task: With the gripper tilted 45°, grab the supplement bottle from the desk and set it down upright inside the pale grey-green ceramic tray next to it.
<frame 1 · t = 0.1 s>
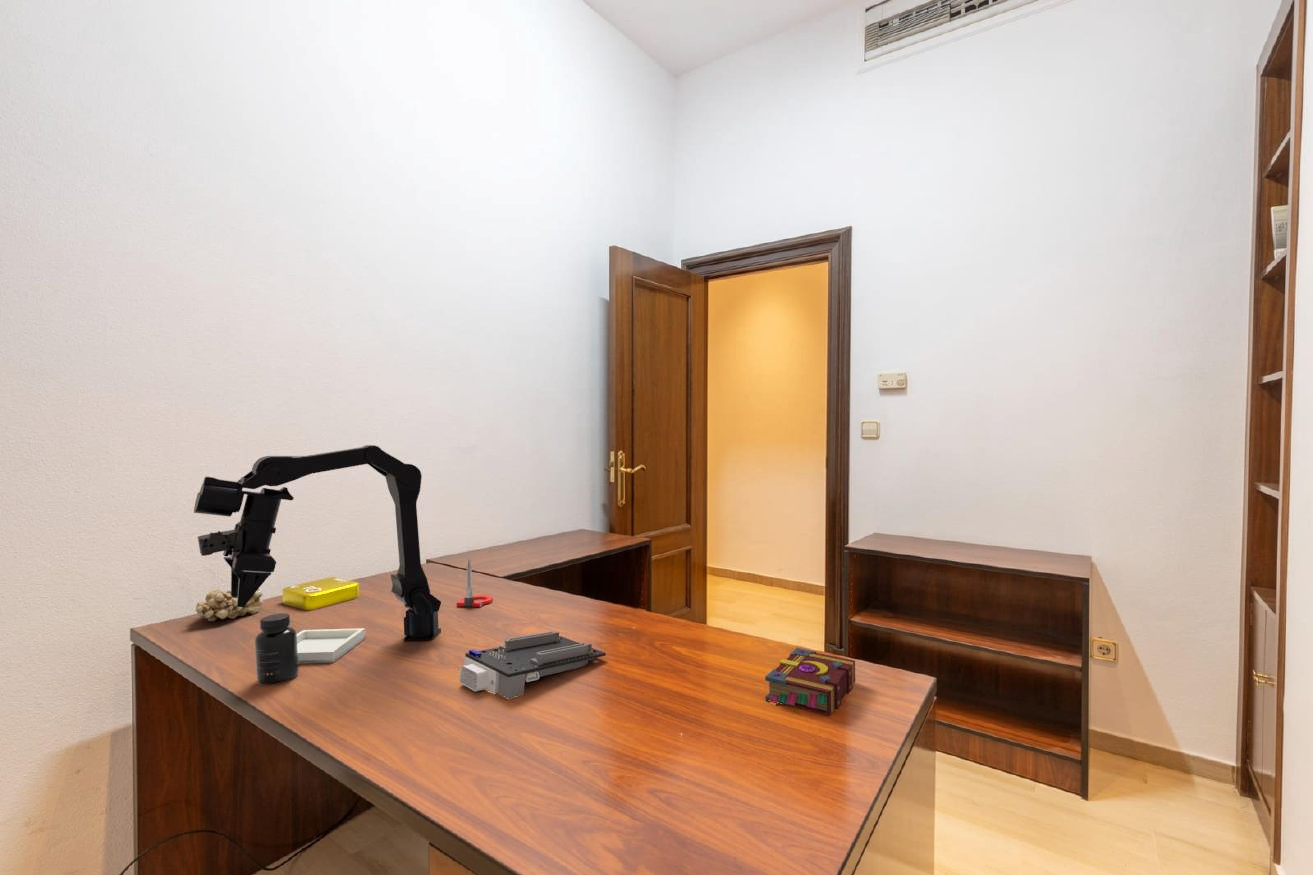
hand: (237, 601, 114), 15 cm above the table, tool pointing down, fingers open, 9 cm apart
supplement bottle: (278, 679, 115), on the table
mineral formation: (223, 619, 153), on the table
decorative book: (811, 695, 104), on the table
circuit board: (532, 674, 116), on the table
ceramic tray: (317, 650, 129), on the table
tow hook: (475, 603, 162), on the table
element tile: (321, 601, 168), on the table
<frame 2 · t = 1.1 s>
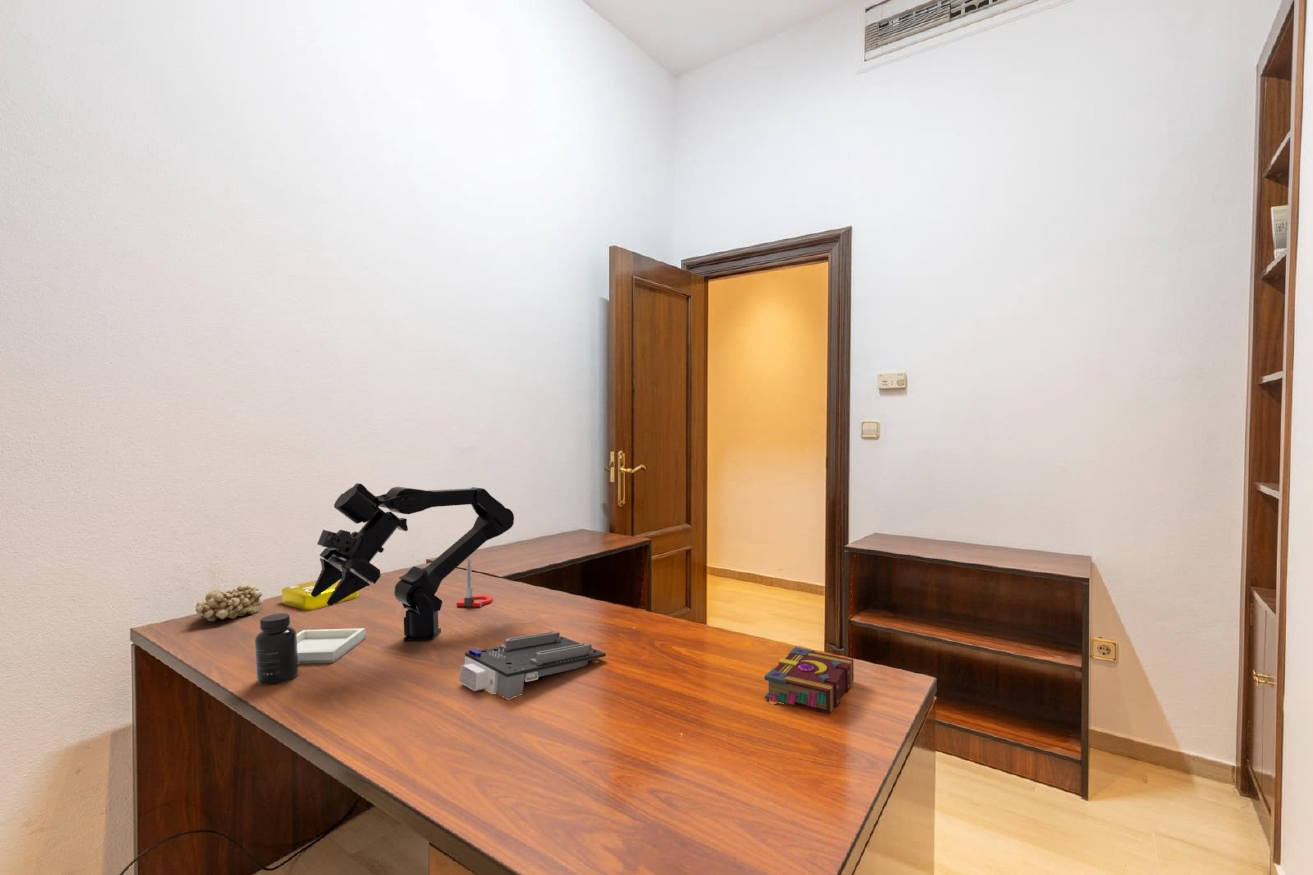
hand: (320, 600, 121), 13 cm above the table, tool tilted 45°, fingers open, 9 cm apart
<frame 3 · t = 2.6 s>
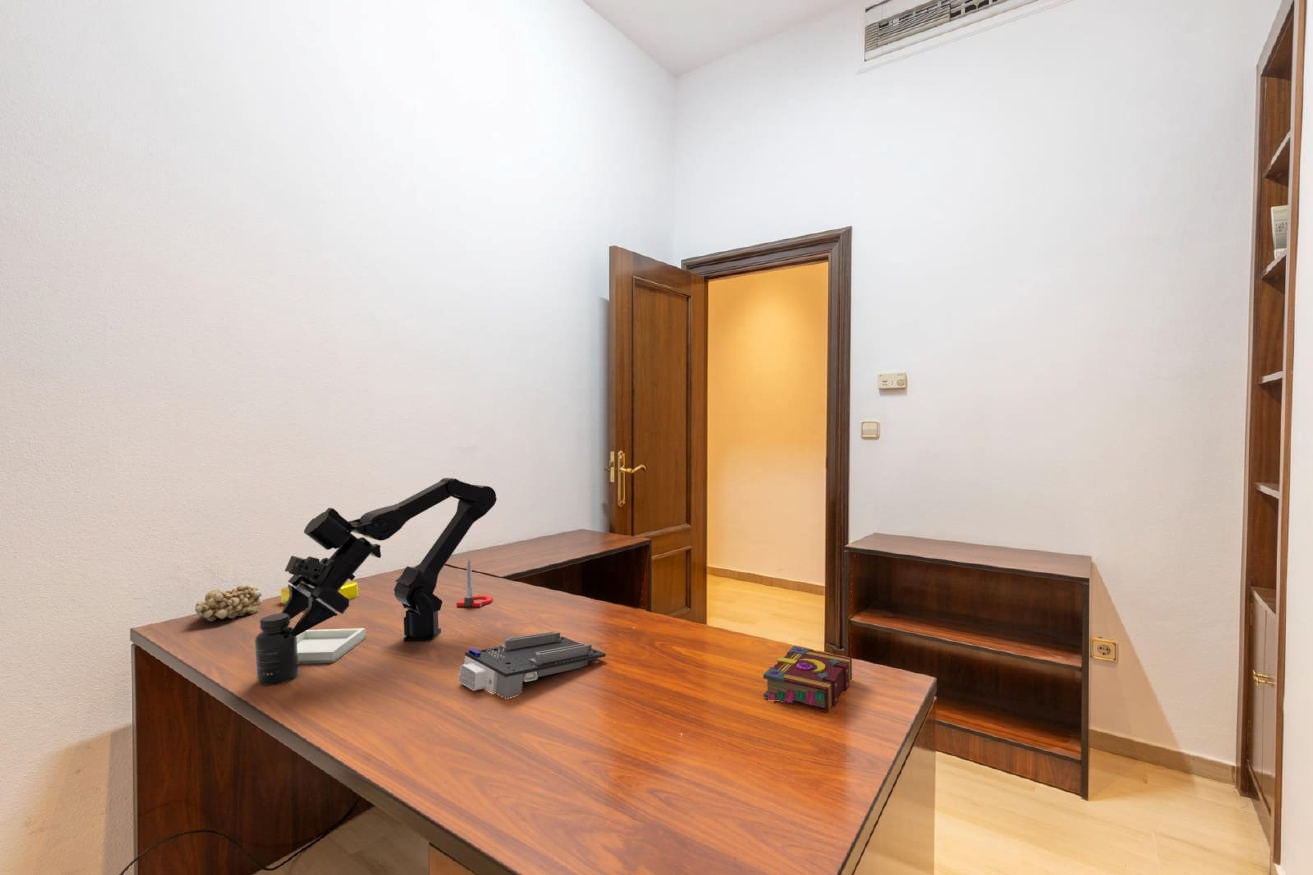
hand: (285, 629, 116), 9 cm above the table, tool tilted 45°, fingers open, 9 cm apart
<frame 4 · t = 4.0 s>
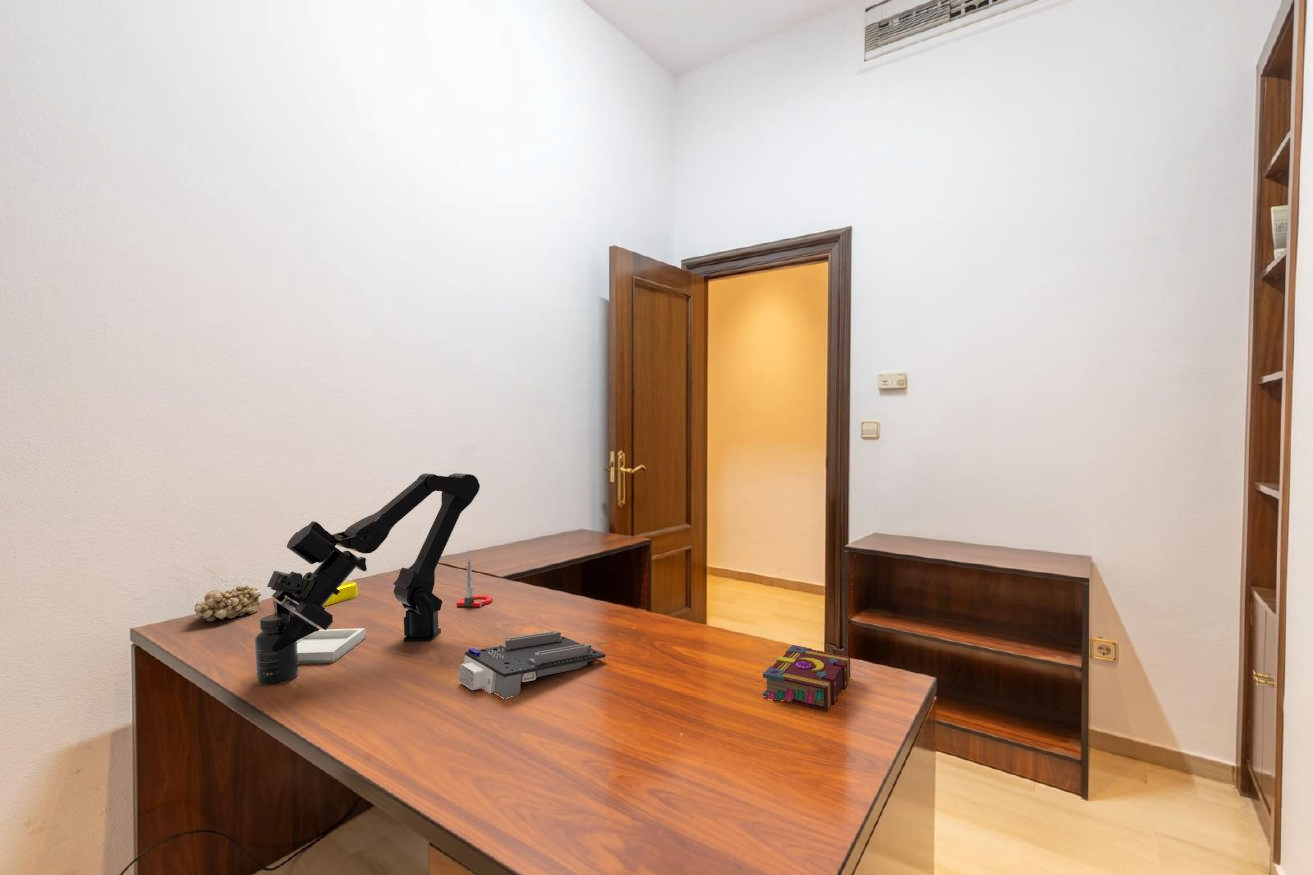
hand: (268, 646, 114), 7 cm above the table, tool tilted 45°, fingers closed on supplement bottle, 7 cm apart
supplement bottle: (278, 679, 115), on the table, touching gripper
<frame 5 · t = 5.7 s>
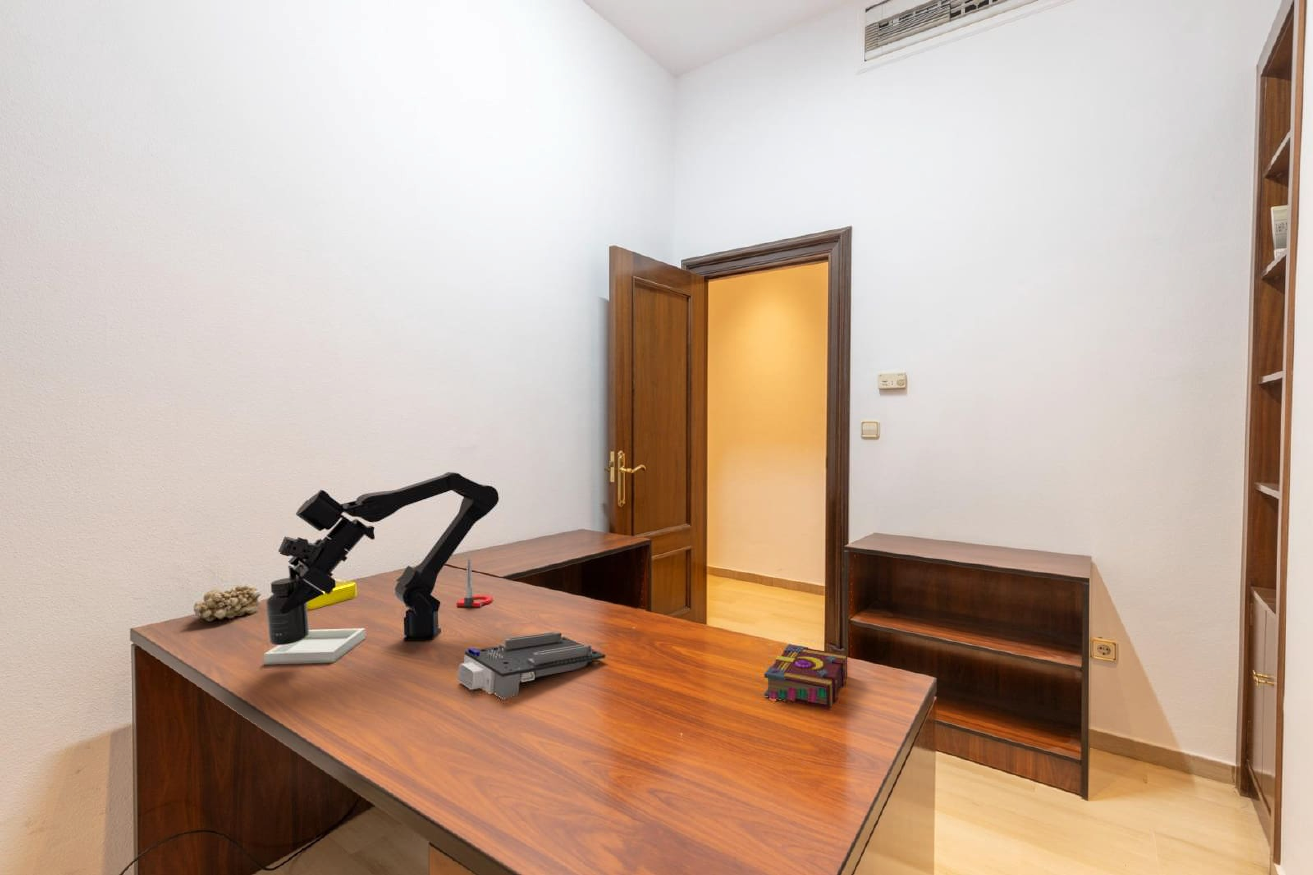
hand: (279, 608, 119), 12 cm above the table, tool tilted 45°, fingers closed on supplement bottle, 7 cm apart
supplement bottle: (289, 640, 120), point 6 cm above the table, touching gripper
when the fingers open (8 cm above the table, at t = 7.8 s): supplement bottle drops 1 cm, resting on ceramic tray.
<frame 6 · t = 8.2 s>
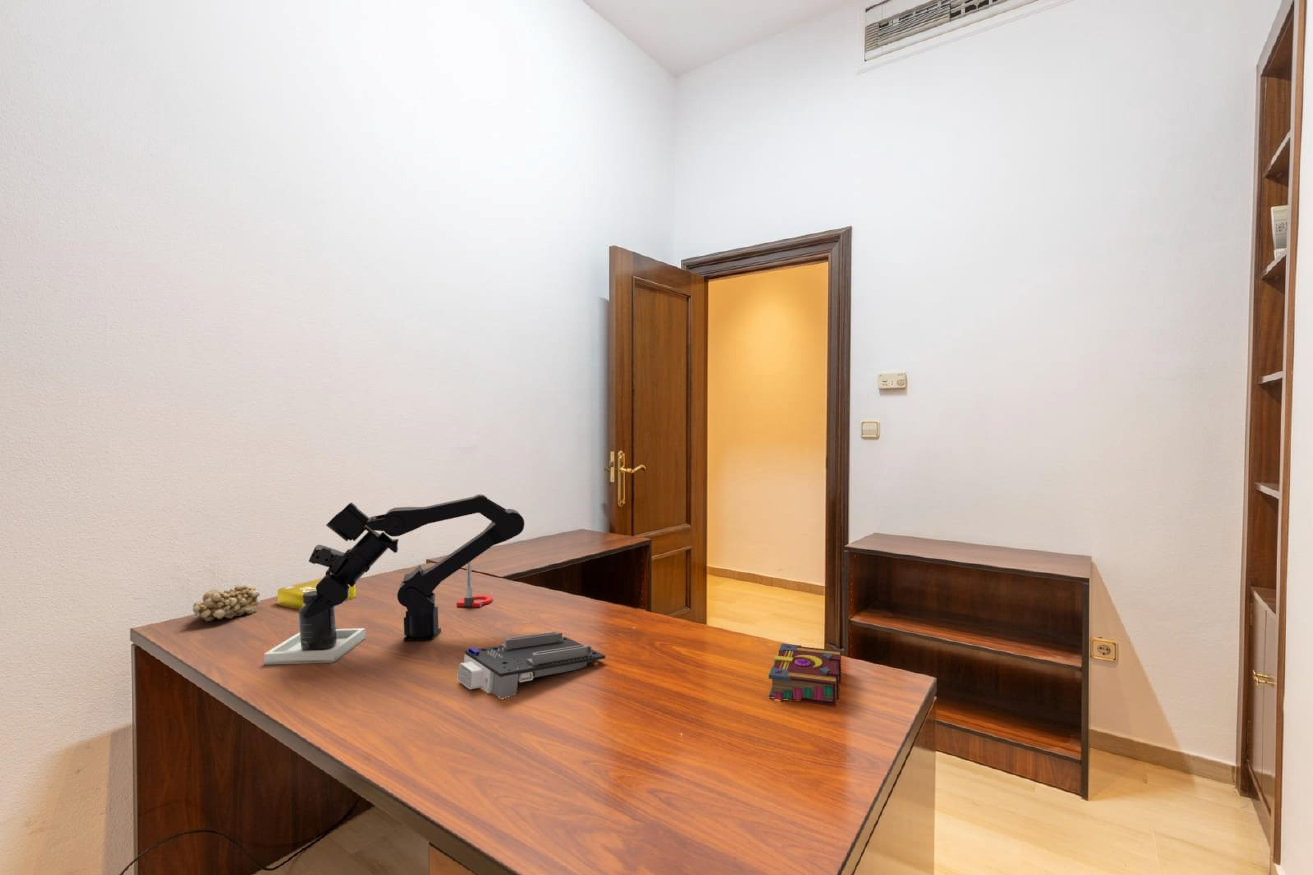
hand: (308, 611, 129), 9 cm above the table, tool tilted 45°, fingers open, 9 cm apart
supplement bottle: (318, 648, 130), resting on ceramic tray
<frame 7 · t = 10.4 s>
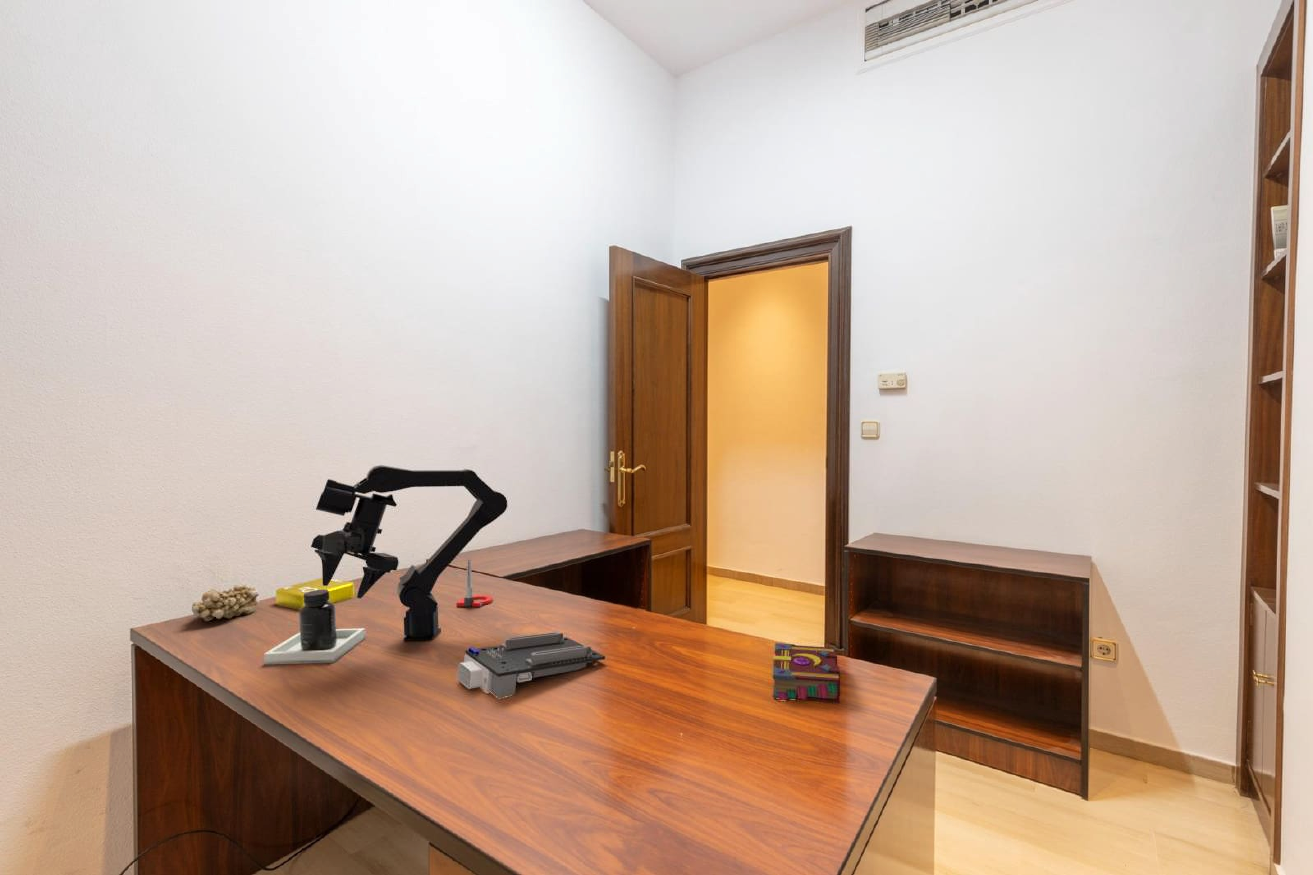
hand: (341, 591, 129), 13 cm above the table, tool tilted 20°, fingers open, 9 cm apart
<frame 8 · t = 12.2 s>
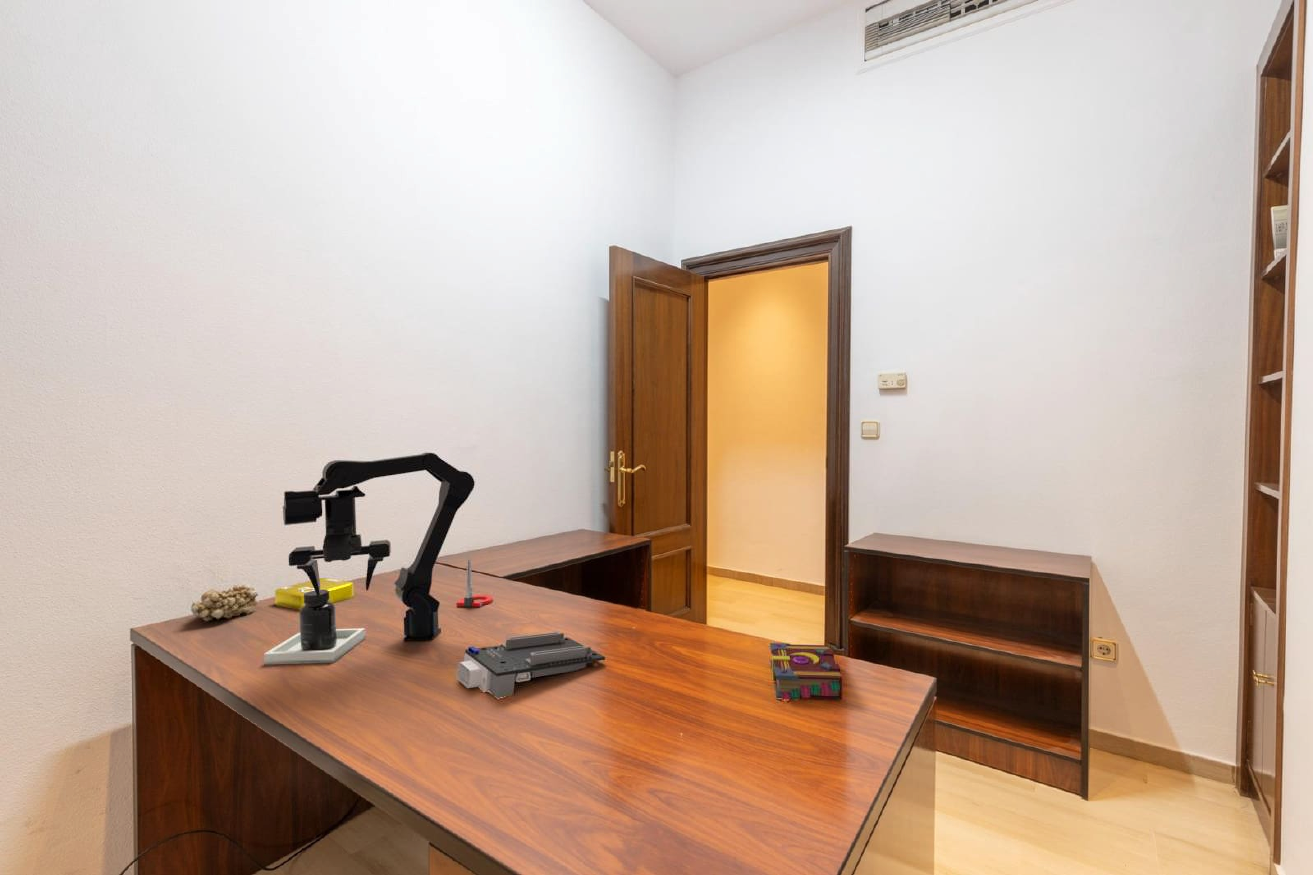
hand: (343, 592, 127), 13 cm above the table, tool pointing down, fingers open, 9 cm apart
at the end: supplement bottle inside the target area on the ceramic tray (0.3 cm from its centre), point 0.4 cm above the ceramic tray's base; supplement bottle tilted 0°; the gripper is holding nothing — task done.
